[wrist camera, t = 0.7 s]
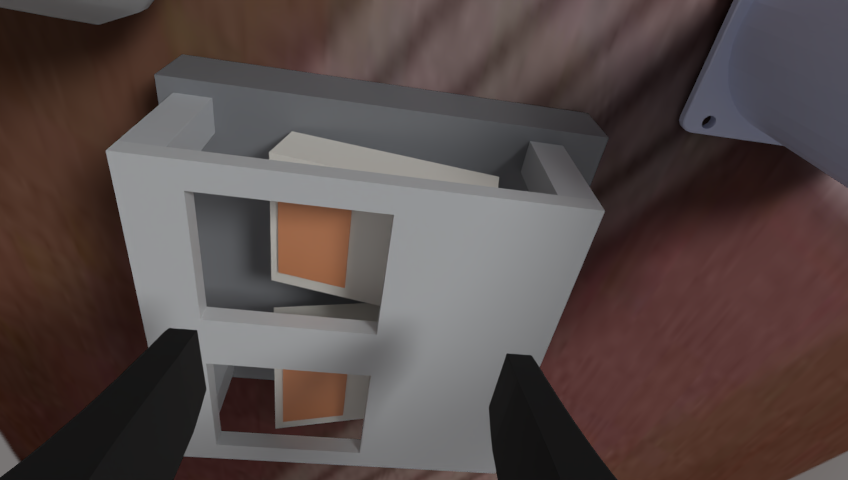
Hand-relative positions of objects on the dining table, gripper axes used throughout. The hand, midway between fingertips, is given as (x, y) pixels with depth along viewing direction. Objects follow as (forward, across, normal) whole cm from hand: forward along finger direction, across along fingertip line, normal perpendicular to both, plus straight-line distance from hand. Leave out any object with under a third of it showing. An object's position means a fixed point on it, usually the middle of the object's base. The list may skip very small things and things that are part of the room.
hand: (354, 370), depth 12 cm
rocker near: (+6, 0, 0) cm, 6 cm away
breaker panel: (+10, 0, +3) cm, 11 cm away
